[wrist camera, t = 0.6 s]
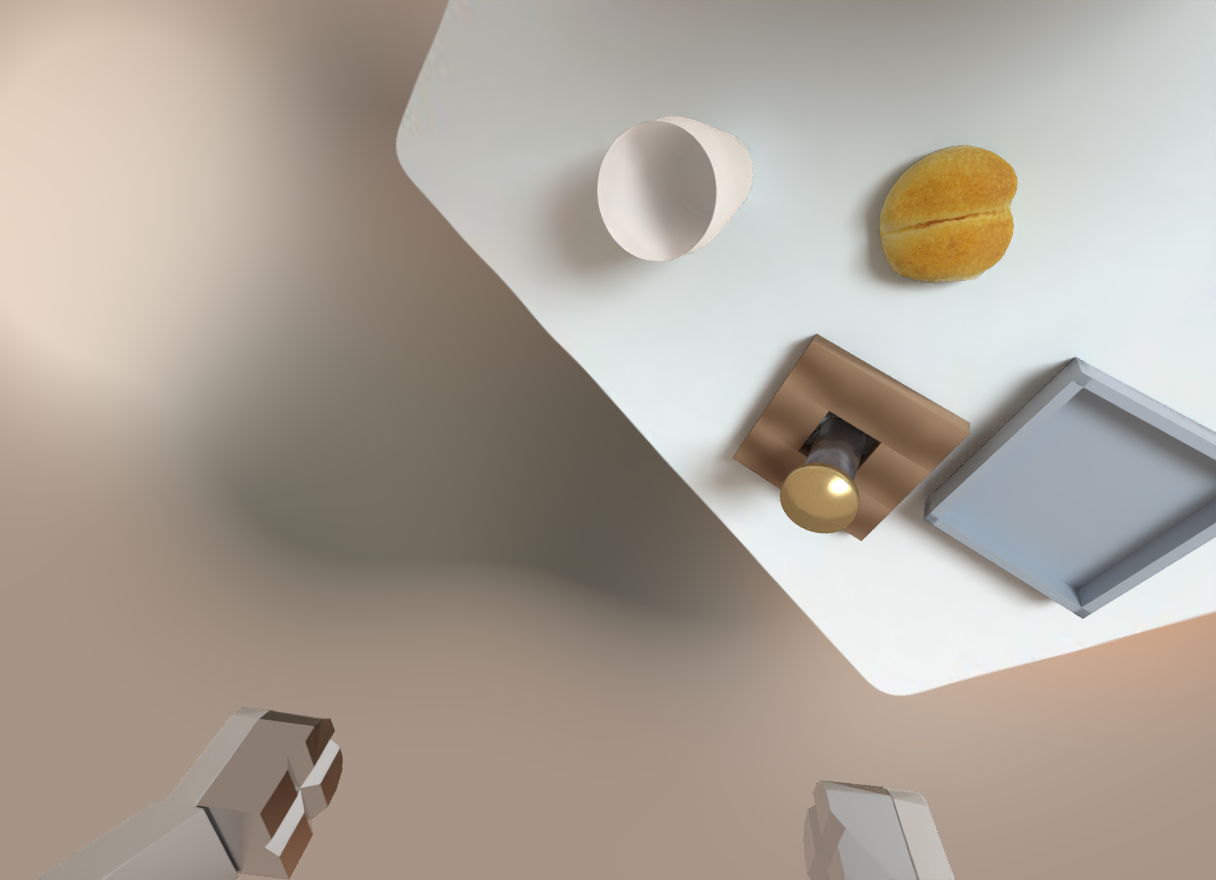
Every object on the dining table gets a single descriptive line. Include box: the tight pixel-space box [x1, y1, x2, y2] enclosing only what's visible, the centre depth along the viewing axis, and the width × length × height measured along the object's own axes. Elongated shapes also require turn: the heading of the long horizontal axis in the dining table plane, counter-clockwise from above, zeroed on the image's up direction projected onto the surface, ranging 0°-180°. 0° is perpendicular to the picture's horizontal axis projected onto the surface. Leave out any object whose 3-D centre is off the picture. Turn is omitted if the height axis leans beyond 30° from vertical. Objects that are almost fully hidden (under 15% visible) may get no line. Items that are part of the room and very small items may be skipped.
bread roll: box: [879, 145, 1017, 283], centre depth 41 cm, size 8×9×4 cm
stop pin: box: [780, 417, 866, 533], centre depth 49 cm, size 6×6×11 cm
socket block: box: [733, 334, 970, 541], centre depth 52 cm, size 14×14×2 cm
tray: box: [924, 357, 1216, 619], centre depth 45 cm, size 16×14×3 cm
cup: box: [597, 117, 753, 261], centre depth 44 cm, size 9×9×12 cm
